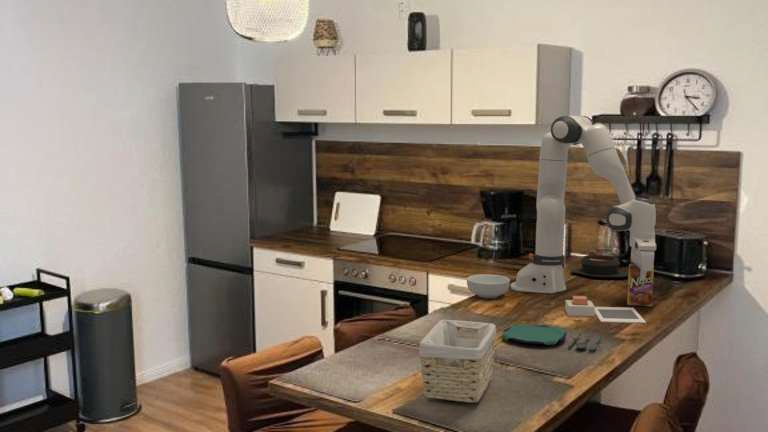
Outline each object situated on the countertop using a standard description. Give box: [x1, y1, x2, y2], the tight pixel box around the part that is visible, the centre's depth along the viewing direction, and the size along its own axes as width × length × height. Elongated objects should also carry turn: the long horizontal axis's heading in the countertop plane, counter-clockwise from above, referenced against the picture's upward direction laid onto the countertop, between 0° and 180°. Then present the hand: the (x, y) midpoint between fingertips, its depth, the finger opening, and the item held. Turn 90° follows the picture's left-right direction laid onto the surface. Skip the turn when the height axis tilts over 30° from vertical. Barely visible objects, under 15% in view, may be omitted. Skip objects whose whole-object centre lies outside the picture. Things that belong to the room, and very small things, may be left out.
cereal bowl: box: [466, 273, 511, 299], centre depth 297 cm, size 17×17×7 cm
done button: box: [571, 295, 589, 305], centre depth 270 cm, size 5×5×3 cm
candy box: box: [626, 263, 655, 307], centre depth 281 cm, size 9×4×15 cm, turn 73°
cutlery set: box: [502, 323, 602, 351], centre depth 239 cm, size 20×30×2 cm, turn 63°
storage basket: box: [418, 319, 497, 403], centre depth 197 cm, size 24×16×15 cm
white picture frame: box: [594, 306, 647, 324], centre depth 268 cm, size 15×20×1 cm
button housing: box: [564, 299, 596, 317], centre depth 271 cm, size 9×9×4 cm
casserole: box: [570, 254, 629, 280], centre depth 333 cm, size 25×19×8 cm
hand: (640, 278), depth 281 cm, fingers closed on candy box, 4 cm apart
